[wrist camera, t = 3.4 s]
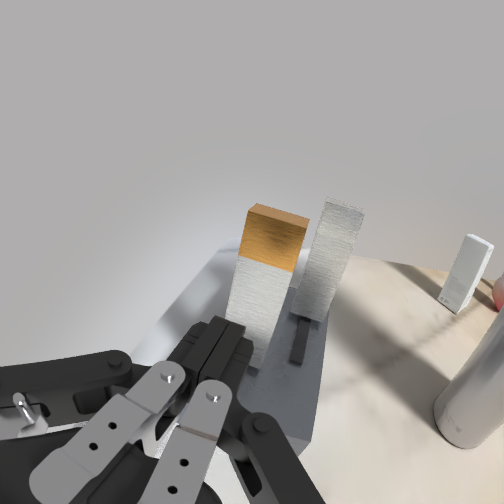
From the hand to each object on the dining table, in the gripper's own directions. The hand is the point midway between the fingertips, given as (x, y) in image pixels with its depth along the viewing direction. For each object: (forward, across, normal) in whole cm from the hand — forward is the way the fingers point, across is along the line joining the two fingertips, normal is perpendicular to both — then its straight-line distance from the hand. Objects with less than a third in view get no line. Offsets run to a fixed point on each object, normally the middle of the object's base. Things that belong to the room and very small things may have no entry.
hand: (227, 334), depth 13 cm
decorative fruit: (+47, -55, +12) cm, 73 cm away
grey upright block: (+16, -5, +8) cm, 19 cm away
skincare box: (+42, -37, +12) cm, 57 cm away
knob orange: (+7, 0, +8) cm, 11 cm away
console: (+11, -2, +12) cm, 17 cm away
